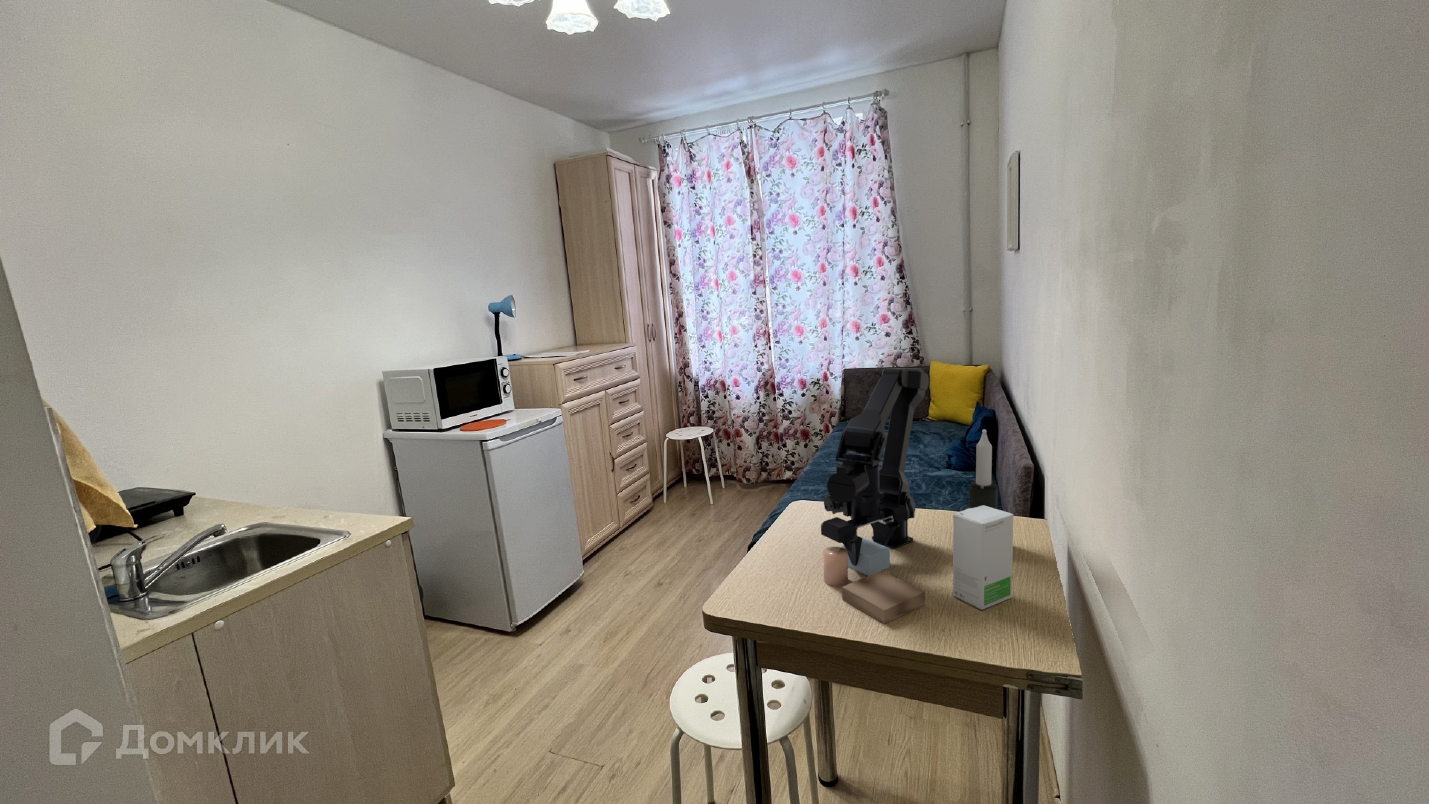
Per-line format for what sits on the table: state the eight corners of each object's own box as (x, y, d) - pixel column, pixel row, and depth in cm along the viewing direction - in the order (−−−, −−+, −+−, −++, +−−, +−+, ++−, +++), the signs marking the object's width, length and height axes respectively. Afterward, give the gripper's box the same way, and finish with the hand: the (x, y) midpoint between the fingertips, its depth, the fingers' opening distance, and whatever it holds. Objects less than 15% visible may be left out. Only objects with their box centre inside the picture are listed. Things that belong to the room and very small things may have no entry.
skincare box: (981, 611, 99) (982, 524, 96) (949, 595, 105) (950, 513, 102) (1013, 597, 103) (1016, 513, 100) (981, 582, 109) (982, 502, 106)
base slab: (881, 583, 111) (881, 570, 110) (924, 604, 102) (924, 591, 102) (842, 599, 106) (842, 586, 106) (884, 624, 97) (884, 610, 97)
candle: (997, 541, 125) (999, 427, 121) (994, 550, 121) (996, 433, 117) (971, 537, 128) (973, 425, 123) (967, 546, 124) (968, 431, 119)
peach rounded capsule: (836, 572, 116) (836, 544, 115) (853, 581, 112) (852, 552, 111) (819, 579, 114) (818, 550, 113) (835, 589, 110) (834, 559, 109)
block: (863, 555, 123) (862, 537, 122) (889, 566, 117) (889, 548, 116) (842, 564, 120) (842, 545, 119) (869, 576, 114) (868, 557, 113)
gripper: (868, 468, 127) (870, 536, 130) (801, 487, 118) (804, 559, 120) (909, 480, 117) (910, 553, 120) (839, 502, 108) (842, 580, 111)
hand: (866, 560), depth 118 cm, fingers closed on block, 6 cm apart
